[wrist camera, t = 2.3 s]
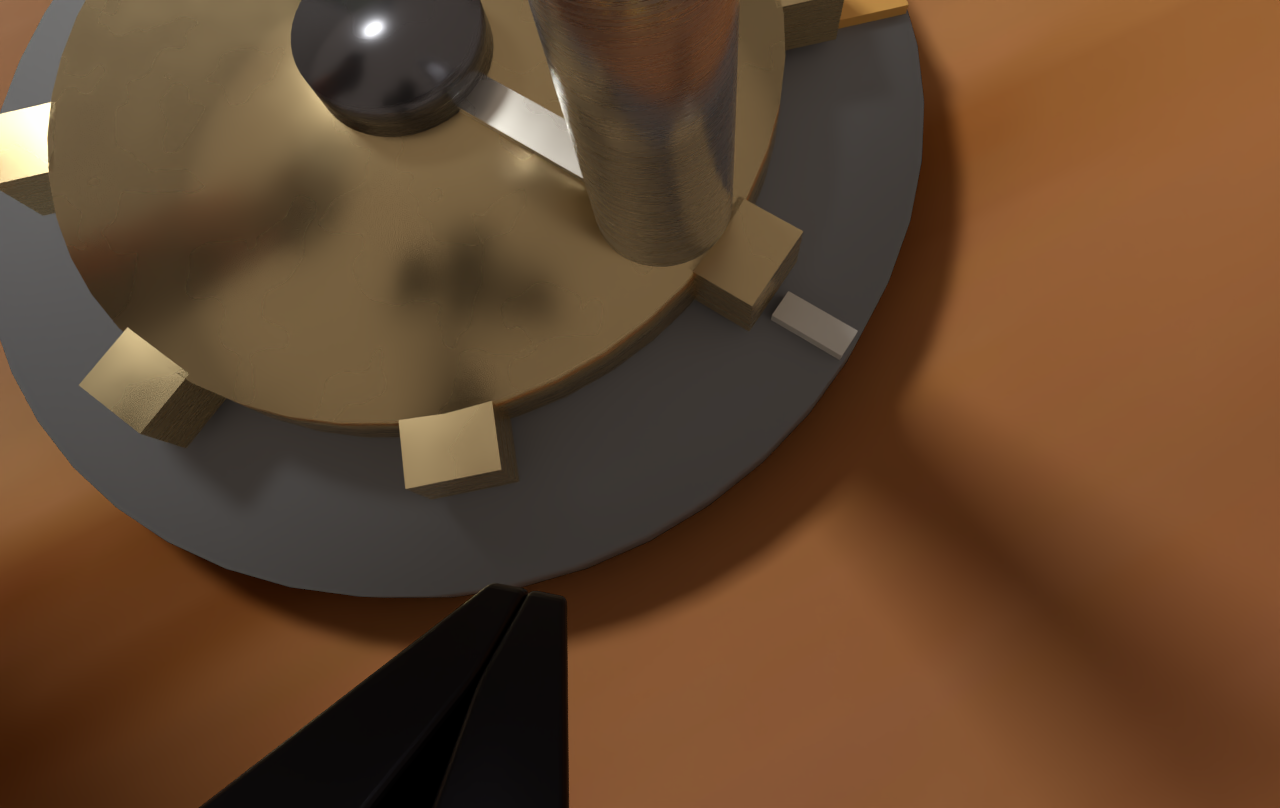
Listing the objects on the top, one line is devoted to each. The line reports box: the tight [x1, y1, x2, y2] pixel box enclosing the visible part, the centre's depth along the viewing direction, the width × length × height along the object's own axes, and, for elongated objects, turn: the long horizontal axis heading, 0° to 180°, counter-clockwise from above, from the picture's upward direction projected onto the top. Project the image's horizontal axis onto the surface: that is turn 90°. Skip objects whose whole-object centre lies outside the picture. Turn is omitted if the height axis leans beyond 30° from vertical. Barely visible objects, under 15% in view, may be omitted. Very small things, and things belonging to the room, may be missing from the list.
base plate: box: [0, 0, 924, 598], centre depth 21 cm, size 25×25×2 cm
